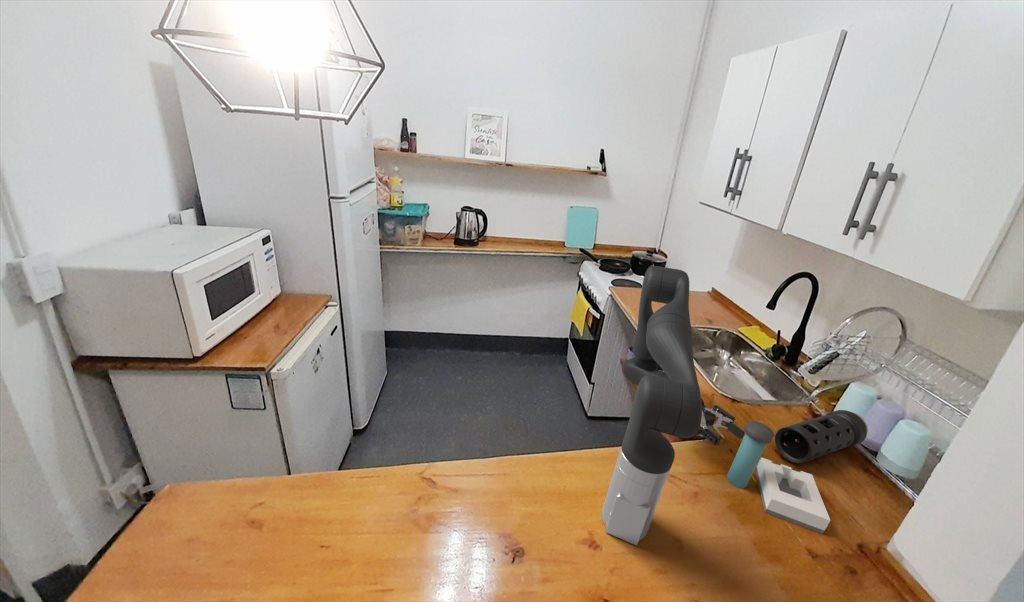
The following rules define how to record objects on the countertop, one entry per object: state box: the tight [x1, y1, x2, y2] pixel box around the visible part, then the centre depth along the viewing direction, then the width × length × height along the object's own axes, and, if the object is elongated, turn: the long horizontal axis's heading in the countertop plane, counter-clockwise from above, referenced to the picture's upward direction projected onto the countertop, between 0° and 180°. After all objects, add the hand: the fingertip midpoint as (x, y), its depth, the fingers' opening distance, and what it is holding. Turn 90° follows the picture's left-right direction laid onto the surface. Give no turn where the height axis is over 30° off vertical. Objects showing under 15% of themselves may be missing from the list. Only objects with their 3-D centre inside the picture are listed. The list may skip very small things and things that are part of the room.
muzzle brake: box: [774, 409, 869, 464], centre depth 109 cm, size 10×28×10 cm, turn 115°
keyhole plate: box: [754, 456, 831, 535], centre depth 92 cm, size 14×11×4 cm
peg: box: [726, 420, 775, 489], centre depth 93 cm, size 6×6×16 cm
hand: (731, 439), depth 97 cm, fingers open, 8 cm apart
